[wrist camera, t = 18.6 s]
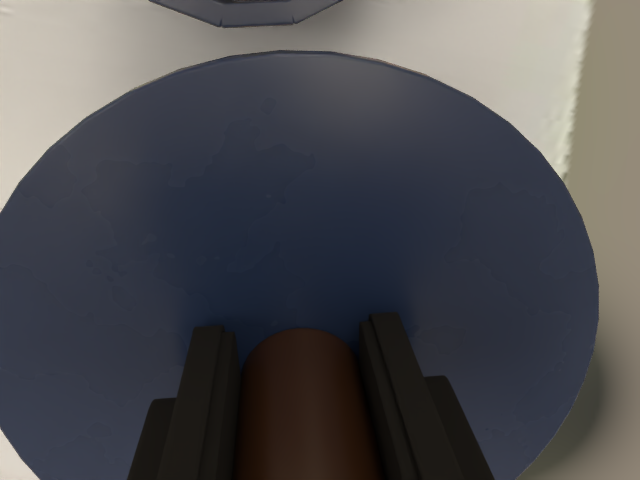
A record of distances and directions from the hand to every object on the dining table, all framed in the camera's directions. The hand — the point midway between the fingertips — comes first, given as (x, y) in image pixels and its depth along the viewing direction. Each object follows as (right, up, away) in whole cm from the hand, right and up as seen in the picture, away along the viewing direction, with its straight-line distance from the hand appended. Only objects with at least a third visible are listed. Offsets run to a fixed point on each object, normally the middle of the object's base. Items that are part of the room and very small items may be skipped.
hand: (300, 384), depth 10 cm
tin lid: (0, 0, +1) cm, 1 cm away
